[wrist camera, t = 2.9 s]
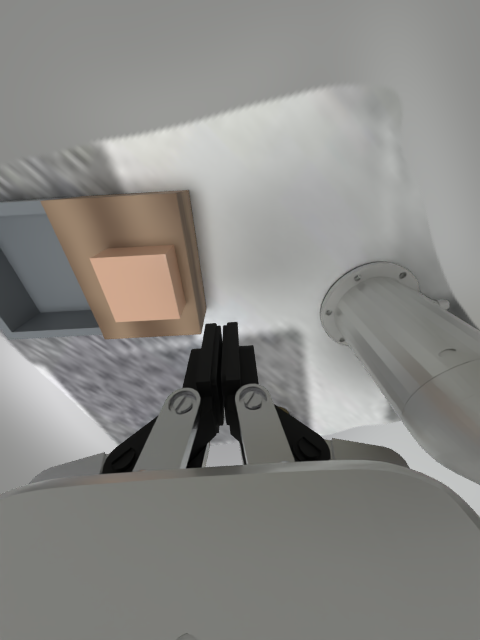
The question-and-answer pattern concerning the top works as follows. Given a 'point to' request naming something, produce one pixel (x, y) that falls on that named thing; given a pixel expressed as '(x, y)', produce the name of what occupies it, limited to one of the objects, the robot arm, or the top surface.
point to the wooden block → (131, 231)
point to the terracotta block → (141, 282)
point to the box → (38, 278)
